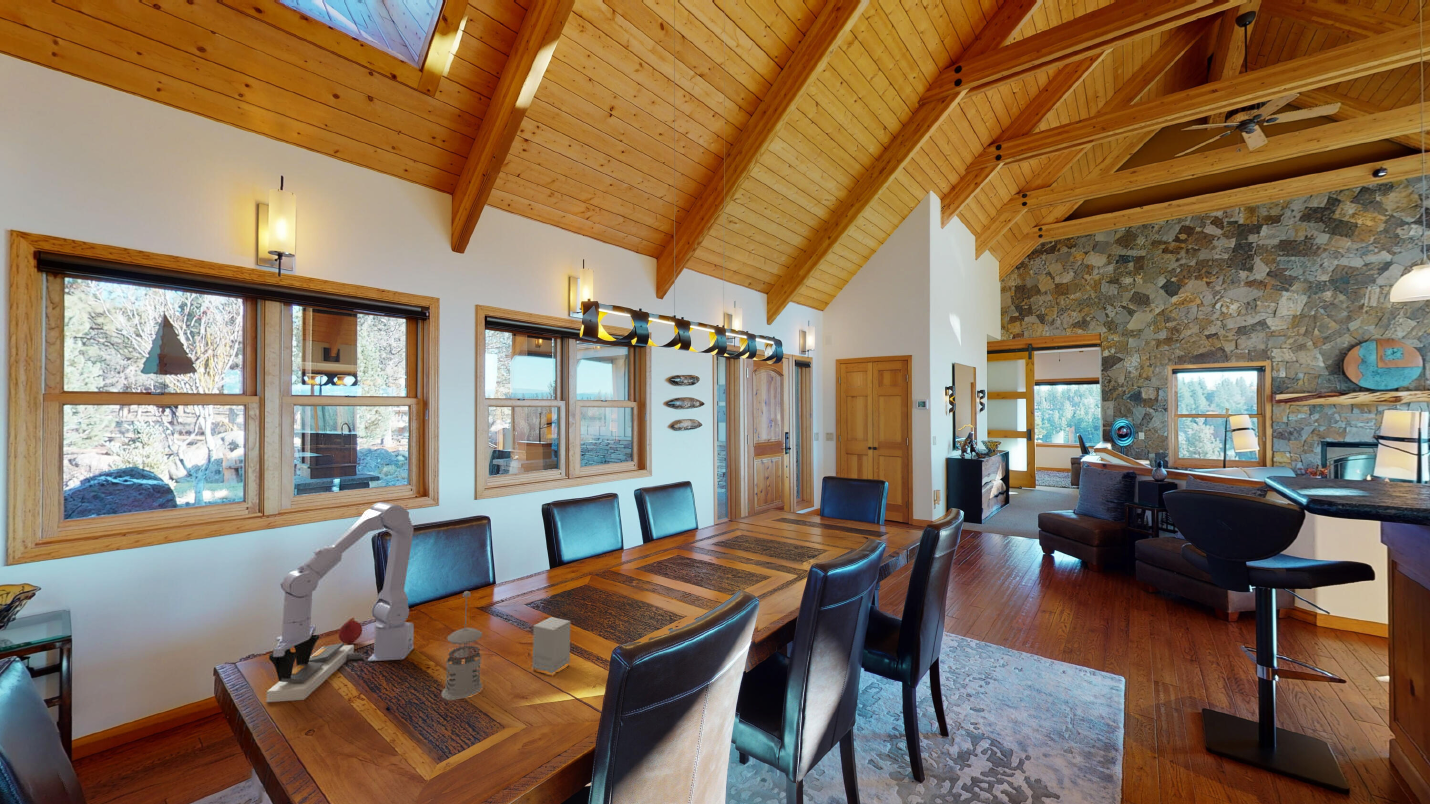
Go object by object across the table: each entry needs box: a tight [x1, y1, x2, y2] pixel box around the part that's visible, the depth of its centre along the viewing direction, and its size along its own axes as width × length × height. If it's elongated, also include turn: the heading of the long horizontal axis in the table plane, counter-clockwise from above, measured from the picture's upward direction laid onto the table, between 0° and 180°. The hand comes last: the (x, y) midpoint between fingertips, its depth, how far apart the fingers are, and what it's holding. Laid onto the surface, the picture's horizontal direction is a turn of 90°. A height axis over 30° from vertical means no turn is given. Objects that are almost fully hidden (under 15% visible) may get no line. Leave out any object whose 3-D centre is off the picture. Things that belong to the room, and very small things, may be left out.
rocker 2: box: [309, 642, 345, 662], centre depth 144 cm, size 5×9×1 cm, turn 12°
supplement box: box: [532, 616, 571, 673], centre depth 146 cm, size 7×7×13 cm
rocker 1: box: [281, 662, 323, 683], centre depth 133 cm, size 5×9×1 cm, turn 11°
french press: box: [440, 590, 483, 701], centre depth 135 cm, size 10×12×25 cm
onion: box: [338, 617, 363, 645], centre depth 158 cm, size 6×6×8 cm
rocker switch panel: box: [265, 644, 363, 703], centre depth 139 cm, size 12×25×3 cm, turn 11°
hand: (293, 673), depth 133 cm, fingers open, 7 cm apart
